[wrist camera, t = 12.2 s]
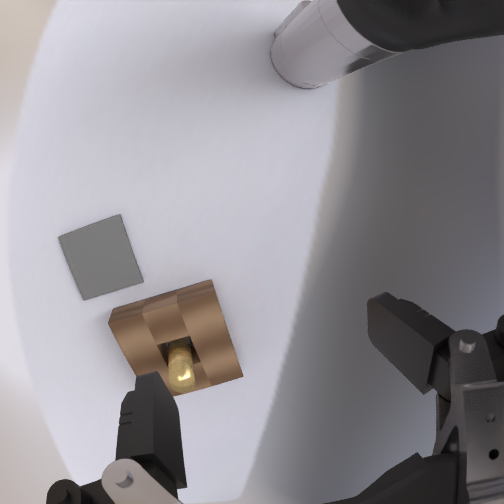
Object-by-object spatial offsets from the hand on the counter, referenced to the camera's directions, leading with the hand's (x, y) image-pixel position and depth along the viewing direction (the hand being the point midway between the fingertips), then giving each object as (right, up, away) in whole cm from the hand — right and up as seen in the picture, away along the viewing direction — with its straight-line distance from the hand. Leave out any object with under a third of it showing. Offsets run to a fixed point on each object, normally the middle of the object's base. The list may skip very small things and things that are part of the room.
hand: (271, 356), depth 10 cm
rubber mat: (-20, +3, +24) cm, 31 cm away
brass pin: (-11, -8, +30) cm, 33 cm away
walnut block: (-11, -8, +29) cm, 33 cm away
